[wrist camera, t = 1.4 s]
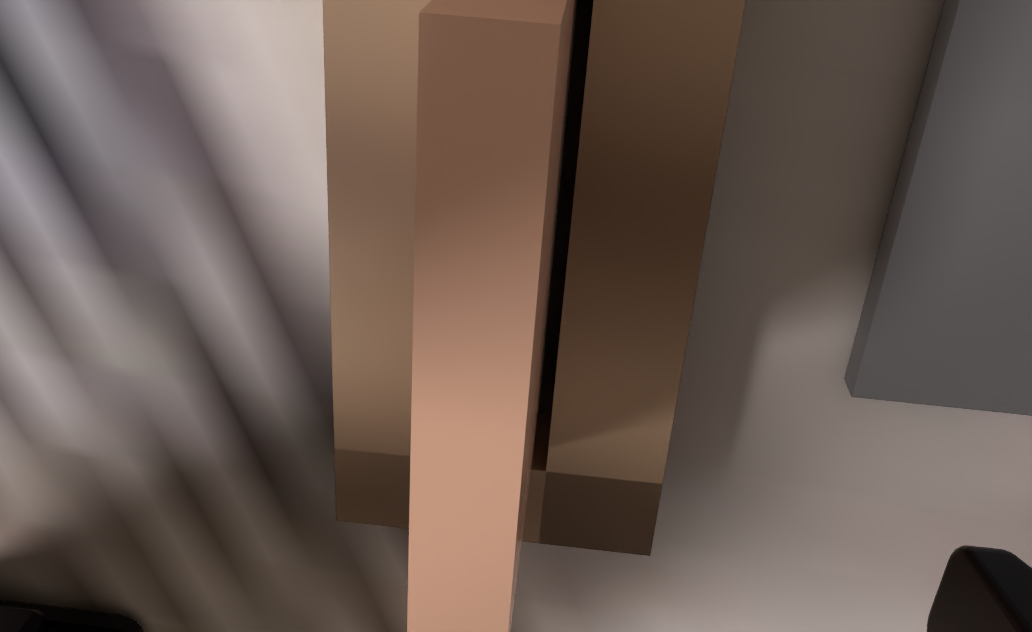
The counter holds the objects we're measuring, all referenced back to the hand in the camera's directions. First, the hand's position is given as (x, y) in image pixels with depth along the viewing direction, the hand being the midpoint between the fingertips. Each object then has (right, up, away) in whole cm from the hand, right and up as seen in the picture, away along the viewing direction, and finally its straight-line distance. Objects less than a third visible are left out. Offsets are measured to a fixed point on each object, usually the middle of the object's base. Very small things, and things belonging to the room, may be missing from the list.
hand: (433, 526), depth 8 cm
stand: (+1, +4, +8) cm, 9 cm away
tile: (+1, +4, +8) cm, 9 cm away
